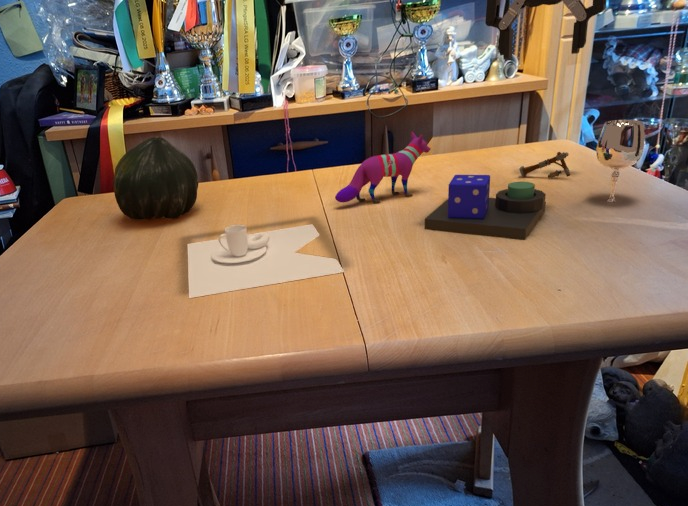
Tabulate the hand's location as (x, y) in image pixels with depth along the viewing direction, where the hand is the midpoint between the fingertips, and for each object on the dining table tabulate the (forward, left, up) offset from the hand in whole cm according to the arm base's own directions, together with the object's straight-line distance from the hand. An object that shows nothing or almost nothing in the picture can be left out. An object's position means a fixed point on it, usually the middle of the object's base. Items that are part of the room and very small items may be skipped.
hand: (540, 56), depth 76 cm
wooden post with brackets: (+1, -18, -22) cm, 28 cm away
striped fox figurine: (+23, +1, -22) cm, 32 cm away
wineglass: (-11, -4, -22) cm, 25 cm away
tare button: (0, +4, -18) cm, 19 cm away
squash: (+58, +20, -22) cm, 65 cm away
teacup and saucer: (+29, +30, -22) cm, 47 cm away
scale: (+4, +7, -22) cm, 23 cm away
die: (+6, +9, -20) cm, 23 cm away
